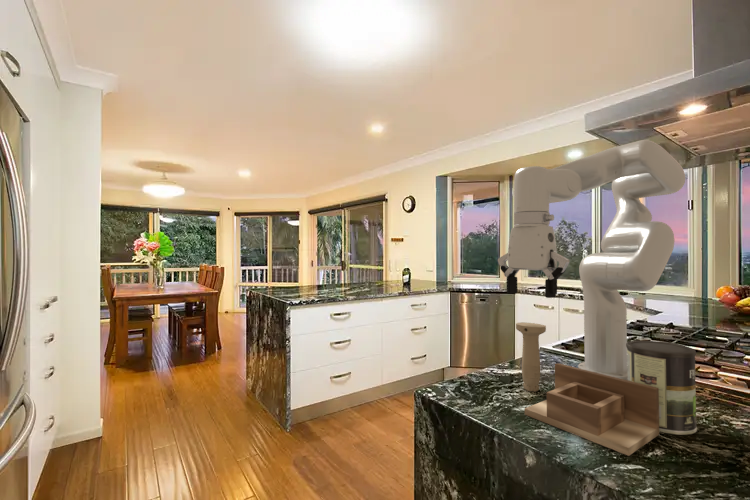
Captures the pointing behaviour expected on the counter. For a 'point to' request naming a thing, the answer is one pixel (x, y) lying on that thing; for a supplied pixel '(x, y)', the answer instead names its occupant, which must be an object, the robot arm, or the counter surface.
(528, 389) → the handle
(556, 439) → the counter surface
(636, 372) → the coffee can
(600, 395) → the wooden box holder
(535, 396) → the counter surface
